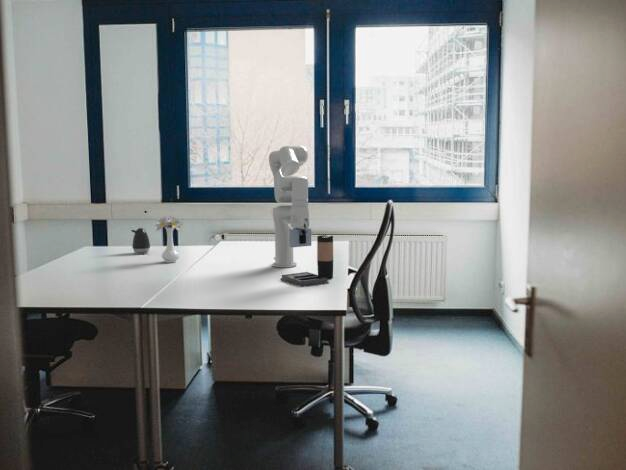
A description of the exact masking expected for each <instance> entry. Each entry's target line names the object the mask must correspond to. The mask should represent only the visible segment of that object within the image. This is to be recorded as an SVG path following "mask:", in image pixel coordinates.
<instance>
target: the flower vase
mask: <svg viewBox="0 0 626 470" xmlns="http://www.w3.org/2000/svg"><path fill="white" fill-rule="evenodd" d="M182 225H183V222H182V221H180V220H179V218H178V217H177V216H169V217H168V218H167V217H166V216H163V217H158V222H156V223H155V227H157V228H156V230H155V231H156V232H158V231H161V230H162V229H163V228H165V230H166V236H167V237H166V239H167V241H166V248H165V250H164V251H163V252H162V254H161V258H162V259H163V260H164V262H165V263H167V264H169V263H171V264H173V263H177V260H178V259H179V258H180V253H179V252H178V250H177V249H176V248H175V246H174V237H173V236H174V230H176V231H177V232H180V231H181V228H182V227H181V226H182Z"/></svg>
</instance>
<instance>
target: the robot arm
mask: <svg viewBox="0 0 626 470" xmlns="http://www.w3.org/2000/svg"><path fill="white" fill-rule="evenodd" d="M308 156H309V155H308V150H307V149H306V147H305V146H303V145H285V146H282V147H280V149H279V150H275V151H271V152H270V153H269V155H268V163H269V168H270V171H271V173H272V175H273V188H274V189H273V190H274V199H275V201H276V202H277V203H280V204H286V205H279V206H275V207H274V208H273V210H272V217H273V224H274V225H273V226H274V253H275V254H274V257H273V260H274V261H275V262H273V263H272V264H271V265H272V267H274V268H294V267H296V266H297V263H296V262H295V261H294V247H290V242H289V229H300V235H299V242H300V244H305V243H306V234H307V231H308V230H309V228H310V212H309V211H310V210H309V179H308V178H307V177H306V176H305V175H294V174H296V173H298V171H299V170H300V167H302V166H303V165H305V164H306V163H307V160H308ZM287 204H291V205H287ZM289 225H290V226H289ZM303 229H304V230H303ZM302 230H303V231H302Z"/></svg>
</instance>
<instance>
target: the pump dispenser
mask: <svg viewBox="0 0 626 470" xmlns="http://www.w3.org/2000/svg"><path fill="white" fill-rule="evenodd" d="M130 232H132V233H134V235H133V239H132V245H131V247H132V249H133V252H134V253H135V254H137V255H144V254H143V253H146V254H147V253H148V252H149V251H150V248H151V243H150V238H149V235H148V233H147V231H146V230H145V229H144V228H143V227H138V228H137V229H136V230H134V229H131V231H130Z"/></svg>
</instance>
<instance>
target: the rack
mask: <svg viewBox="0 0 626 470" xmlns="http://www.w3.org/2000/svg"><path fill="white" fill-rule="evenodd" d="M280 280H281V281H283V280H284V281H283V282H286V281H287V282H286V283H289V282H290V283H289V284H292V283H293V285H295V284H296V286H298V285H300V286H299V287H301V286H302V287H301V288H304V287H303V286H306V287H313V285H314V286H318V285H319V286H321V285H327V284H330V282H329V281H328V279H327V278H326V277H323V276H319V275H318V274H316V273H312V272H309V271H305V272H295V273H288V274H281V278H280Z"/></svg>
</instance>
